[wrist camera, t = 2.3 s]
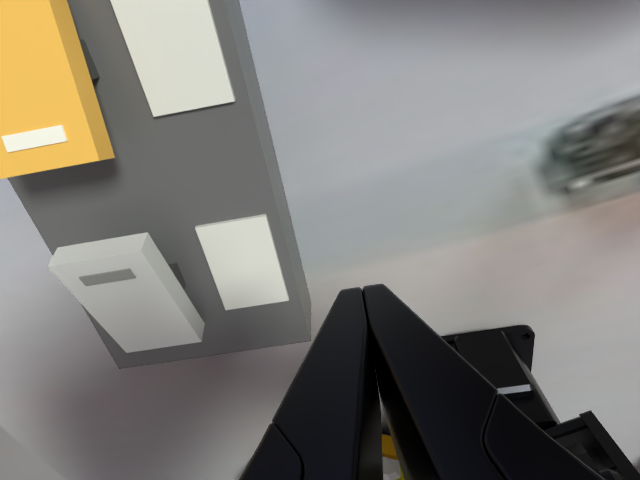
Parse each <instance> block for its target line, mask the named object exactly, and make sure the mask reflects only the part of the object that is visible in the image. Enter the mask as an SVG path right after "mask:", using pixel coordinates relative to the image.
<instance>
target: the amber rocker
mask: <svg viewBox="0 0 640 480" xmlns="http://www.w3.org/2000/svg"><path fill="white" fill-rule="evenodd" d="M112 158H115V156H114V153H113V149H112V146H111V143H110V139H109V136H108V133H107V130H106V126H105V123H104V120H103V116H102V113H101V110H100V107H99V103H98V100H97V97H96V93H95V90H94V87H93V84H92V80H91V77H90V74H89V70H88V67H87V64H86V61H85V57H84V54H83V51H82V48H81V44H80V41H79V38H78V34H77V31H76V28H75V25H74V21H73V18H72V15H71V11H70V8H69V5H68V2H67V0H0V179H3V178H8V177H14V176H20V175H25V174H30V173H36V172H41V171H47V170H52V169H57V168H63V167H68V166H74V165H79V164H84V163H90V162H95V161H101V160H106V159H112Z"/></svg>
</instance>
